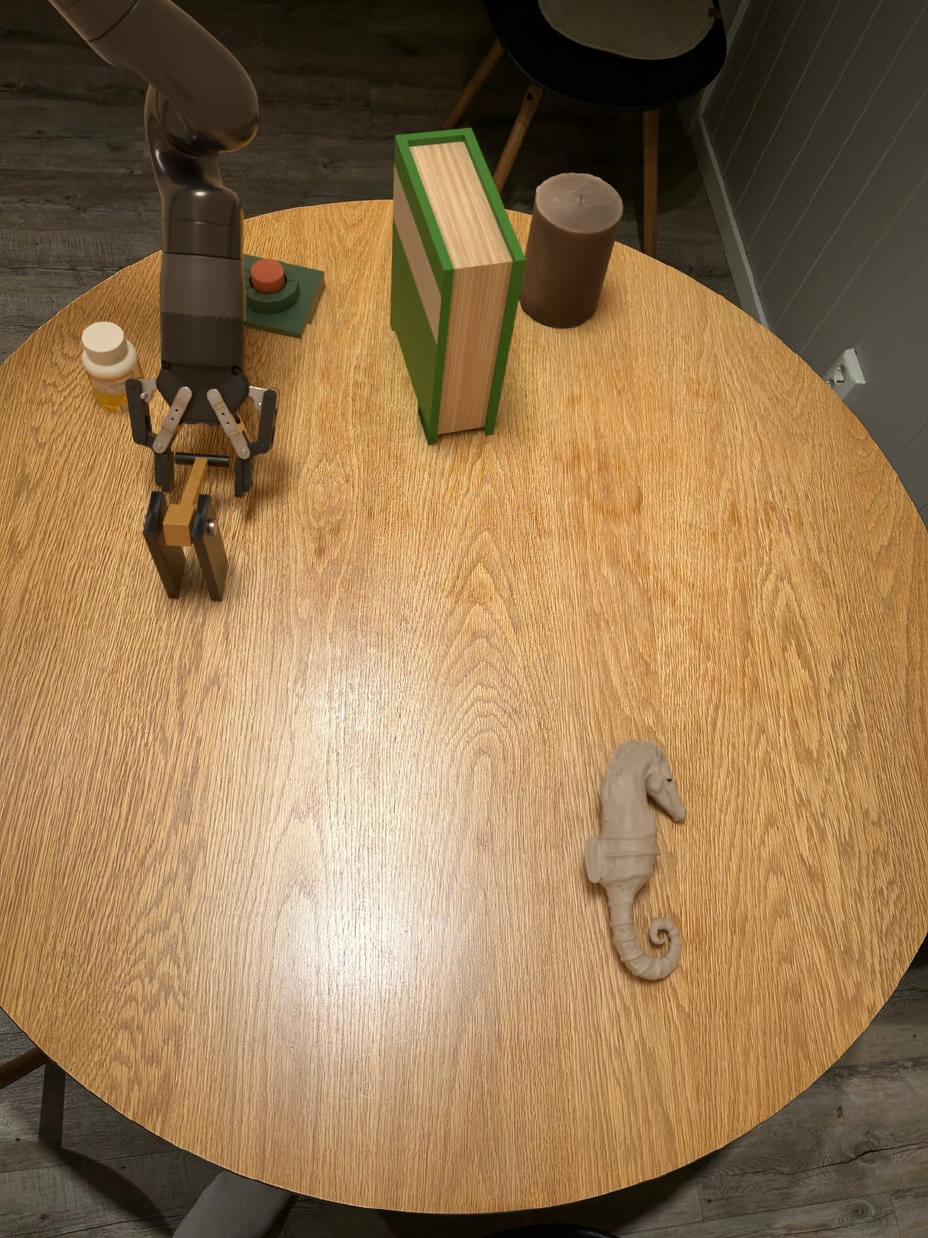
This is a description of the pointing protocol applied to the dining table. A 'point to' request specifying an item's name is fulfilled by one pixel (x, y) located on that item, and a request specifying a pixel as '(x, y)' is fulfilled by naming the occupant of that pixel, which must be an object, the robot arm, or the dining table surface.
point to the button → (267, 276)
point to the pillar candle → (569, 248)
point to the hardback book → (452, 279)
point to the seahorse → (633, 848)
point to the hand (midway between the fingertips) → (204, 493)
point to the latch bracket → (173, 557)
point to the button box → (284, 300)
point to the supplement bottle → (109, 364)
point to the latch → (189, 496)
